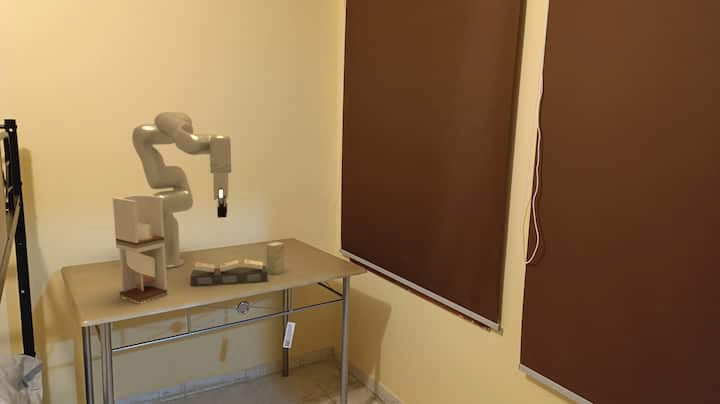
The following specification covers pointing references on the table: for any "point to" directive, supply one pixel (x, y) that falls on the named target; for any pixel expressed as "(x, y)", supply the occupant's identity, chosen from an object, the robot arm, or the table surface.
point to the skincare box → (275, 258)
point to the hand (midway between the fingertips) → (222, 214)
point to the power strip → (228, 276)
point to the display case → (141, 246)
